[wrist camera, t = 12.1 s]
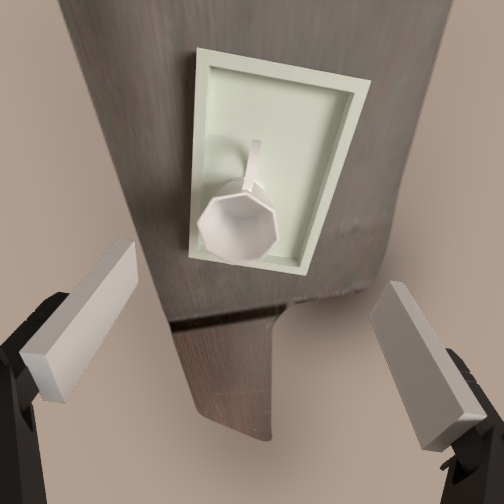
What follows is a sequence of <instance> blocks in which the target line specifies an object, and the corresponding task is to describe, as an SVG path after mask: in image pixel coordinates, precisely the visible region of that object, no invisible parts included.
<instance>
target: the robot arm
mask: <svg viewBox="0 0 504 504" xmlns="http://www.w3.org/2000/svg"><path fill="white" fill-rule="evenodd" d="M137 284H138V272H137V260H136V250H135V241H134V240H129V239H122V238H119V239H118V240H117V241H116V242H115V243H114V244H113V245H112V247H111V248H110V249H109V250H108V251H107V253H105V255H104V256H103V257H102V258H101V259H100V260H99V262H98V263H97V264H96V265H95V266H94V267H93V268H92V269H91V271H90V272H89V273H88V274H87V275H86V276H85V277H84V279H83V280H82V281H81V282H80V283H79V284H78V285H77V287H76V288H75V289H74V290H73V291H72V292H71V293H70V294H69V293H63V292H58V293H56V294H54V295H52V296H51V297H49V298H47V299H46V300H44V301H43V302H42V303H41V304H40V305H39V307H38V308H37V309H36V310H35V312H33V313H32V314H31V315H30V316H29V317H28V318H27V321H24V322H23V323H22V324H21V325H20V326H19V327H18V328H17V329H16V330H15V331H14V332H13V333H12V334H11V336H10V337H9V338H8V339H7V340H6V341H5V342H4V343H3V344H2V345H1V346H0V504H47V500H46V493H45V486H44V479H43V472H42V465H41V458H40V451H39V444H38V437H37V430H36V423H35V416H34V409H33V405H32V403H31V402H32V401H33V399H34V398H35V396H36V395H37V394H38V392H39V393H40V395H41V397H42V399H43V401H50V402H58V403H66V401H67V400H68V398H69V396H70V395H71V393H72V392H73V390H74V388H75V387H76V385H77V383H78V381H79V380H80V378H81V377H82V375H83V373H84V372H85V370H86V368H87V367H88V365H89V363H90V362H91V360H92V359H93V357H94V355H95V354H96V352H97V350H98V349H99V347H100V345H101V344H102V342H103V340H104V338H105V337H106V335H107V334H108V332H109V330H110V329H111V327H112V325H113V324H114V322H115V320H116V319H117V317H118V316H119V314H120V312H121V311H122V309H123V307H124V306H125V304H126V302H127V301H128V299H129V297H130V296H131V294H132V292H133V291H134V289H135V287H136V286H137ZM369 319H370V321H371V324H372V326H373V329H374V331H375V334H376V336H377V339H378V341H379V344H380V346H381V349H382V351H383V354H384V356H385V359H386V361H387V364H388V366H389V369H390V371H391V374H392V376H393V379H394V381H395V384H396V386H397V389H398V391H399V394H400V396H401V398H402V401H403V404H404V406H405V408H406V411H407V413H408V416H409V418H410V421H411V423H412V426H413V428H414V431H415V433H416V436H417V438H418V441H419V443H420V446H421V448H422V450H428V451H436V452H443V451H444V450H445V449H446V448H448V447H449V446H450V445H451V446H452V448H453V450H454V452H455V455H454V456H453V457H451V458H450V459H449V460H447V461H446V462H445V463H443V464H442V466H441V467H440V469H441V470H442V471H443V470H445V469H446V468H447V467H449V469H448V474H447V478H446V482H445V486H444V490H443V494H442V498H441V503H440V504H504V422H503V421H502V419H501V418H500V416H499V415H498V413H497V412H496V410H495V409H494V407H493V405H492V404H491V402H490V401H489V399H488V398H487V396H486V395H485V393H484V392H483V390H482V389H481V387H480V386H479V385H478V384H477V381H476V380H475V378H474V377H473V375H472V374H470V371H469V369H468V368H467V366H466V365H465V363H464V362H463V360H462V359H460V357H459V356H458V355H457V354H456V353H454V351H452V350H451V349H447V348H444V346H443V345H442V343H441V342H440V340H439V338H438V337H437V335H436V334H435V332H434V330H433V329H432V327H431V326H430V324H429V322H428V321H427V319H426V318H425V316H424V314H423V313H422V311H421V310H420V308H419V307H418V305H417V303H416V302H415V300H414V299H413V297H412V295H411V294H410V292H409V291H408V289H407V287H406V286H405V284H404V283H402V282H396V281H389V282H388V284H387V286H386V287H385V289H384V291H383V293H382V295H381V296H380V298H379V300H378V302H377V303H376V305H375V307H374V309H373V311H372V312H371V314H370V316H369Z"/></svg>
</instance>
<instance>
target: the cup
mask: <svg viewBox="0 0 504 504" xmlns="http://www.w3.org/2000/svg"><path fill="white" fill-rule="evenodd" d="M260 147H261V141H259V140H255V139H252V143H251V148H250V153H249V158H248V163H247V168H246V173H245V176H244V177H239V178H233V179H232V181H231V182H229V183H227V184H225V185H224V186H223V188H222V189H221V190H220V191H219V192H218V193H217V194H216V195H215V196H214V197H213V198H212V199H211V201H210V203H209V204H208V206H207V207H206V209H205V210H204V212H203V213H202V215H201V216H200V218H199V220H198V221H197V226H198V229H199V232H200V235H201V238H202V241H203V245H204V248H205V250H206V251H208V252H210V253H211V254H213V255H215V256H217V257H218V258H220V259H222V260H224V261H225V262H227V263H229V264H231V265H235V264H243V263H251V262H259V261H262V259H263V258H264V257H265V256H266V255H267V254H268V253H269V251H270V250H271V249H272V248H273V247H274V246H275V244H276V243H277V242H278V241H279V234H278V228H277V221H276V215H275V210H274V207H273V205H272V203H271V201H270V198H269V196H268V193H267V192H266V191H265V190H264V189H263V186H262V184H260V183H259V182H257V181H256V180H255V179H254V178H255V173H256V168H257V163H258V158H259V153H260Z"/></svg>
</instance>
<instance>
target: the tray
mask: <svg viewBox="0 0 504 504" xmlns="http://www.w3.org/2000/svg"><path fill="white" fill-rule="evenodd" d="M370 83H371V81H370V80H364V79H359V78H354V77H349V76H344V75H338V74H333V73H328V72H323V71H317V70H312V69H307V68H302V67H296V66H291V65H286V64H281V63H275V62H270V61H265V60H260V59H255V58H249V57H244V56H239V55H234V54H228V53H223V52H218V51H213V50H207V49H202V48H197V56H196V81H195V107H194V132H193V158H192V183H191V209H190V234H189V257H190V258H196V259H202V260H209V261H215V262H222V263H227V262H225V261H224V260H222V259H220V258H218V257H217V256H215V255H213V254H211V253H210V252H208V251H206V250H205V248H204V245H203V241H202V238H201V235H200V232H199V229H198V226H197V221H198V220H199V218H200V216H201V215H202V213H203V212H204V210H205V209H206V207H207V206H208V204H209V203H210V201H211V199H212V198H213V197H214V196H215V195H216V194H217V193H218V192H219V191H220V190H221V189H222V188H223V186H224V185H225V184H227V183H229V182H231V181H232V179H233V178H239V177H244V176H245V173H246V168H247V163H248V158H249V153H250V148H251V143H252V139H255V140H259V141H261V147H260V153H259V158H258V163H257V168H256V173H255V178H254V179H255V180H256V181H257V182H259V183H260V184H262V186H263V189H264V190H265V191H266V192H267V193H268V196H269V198H270V201H271V203H272V205H273V207H274V210H275V215H276V221H277V228H278V234H279V241H278V242H277V243H276V244H275V246H274V247H273V248H272V249H271V250H270V251H269V253H268V254H267V255H266V256H265V257H264V258H263V259H262V261H259V262H251V263H243V264H235V265H241V266H247V267H254V268H260V269H267V270H273V271H280V272H286V273H292V274H299V275H305V276H306V274H307V271H308V268H309V265H310V262H311V259H312V256H313V253H314V250H315V247H316V244H317V241H318V238H319V235H320V232H321V229H322V226H323V223H324V220H325V217H326V214H327V211H328V208H329V205H330V202H331V199H332V196H333V193H334V190H335V187H336V184H337V181H338V179H339V176H340V173H341V170H342V167H343V164H344V161H345V158H346V155H347V152H348V149H349V146H350V143H351V140H352V137H353V134H354V131H355V128H356V125H357V122H358V119H359V116H360V113H361V110H362V107H363V104H364V101H365V98H366V95H367V92H368V89H369V86H370ZM228 264H229V263H228Z"/></svg>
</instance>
